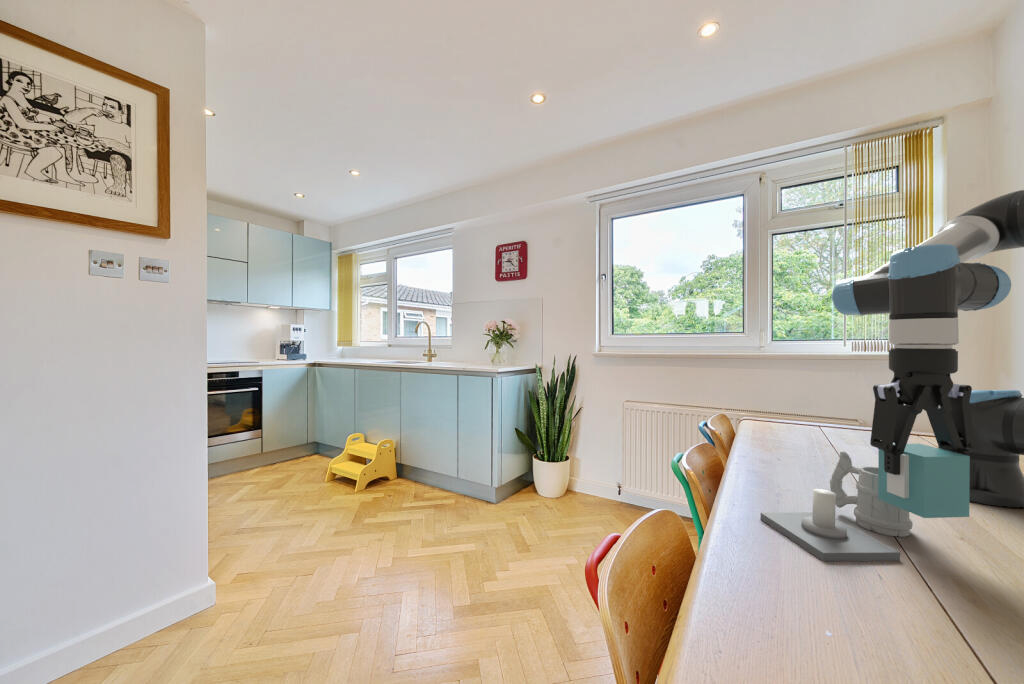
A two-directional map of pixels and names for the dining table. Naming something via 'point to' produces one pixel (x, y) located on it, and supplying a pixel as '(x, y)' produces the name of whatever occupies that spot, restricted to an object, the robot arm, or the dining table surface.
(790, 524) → the post board
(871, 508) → the mug
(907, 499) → the teal block
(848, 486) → the dining table surface
